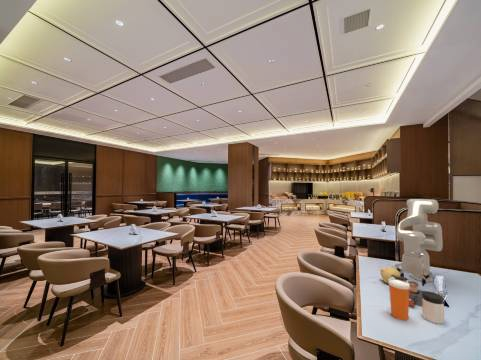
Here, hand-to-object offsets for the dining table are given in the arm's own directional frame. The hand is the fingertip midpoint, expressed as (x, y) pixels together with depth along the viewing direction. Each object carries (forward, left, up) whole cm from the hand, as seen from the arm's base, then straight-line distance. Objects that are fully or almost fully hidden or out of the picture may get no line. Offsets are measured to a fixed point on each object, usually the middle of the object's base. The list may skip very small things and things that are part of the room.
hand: (412, 282), depth 125 cm
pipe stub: (+1, 0, -10) cm, 10 cm away
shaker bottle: (+27, -2, -10) cm, 29 cm away
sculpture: (-16, -14, -10) cm, 24 cm away
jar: (+17, +10, -10) cm, 22 cm away
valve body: (+4, 0, -11) cm, 11 cm away
